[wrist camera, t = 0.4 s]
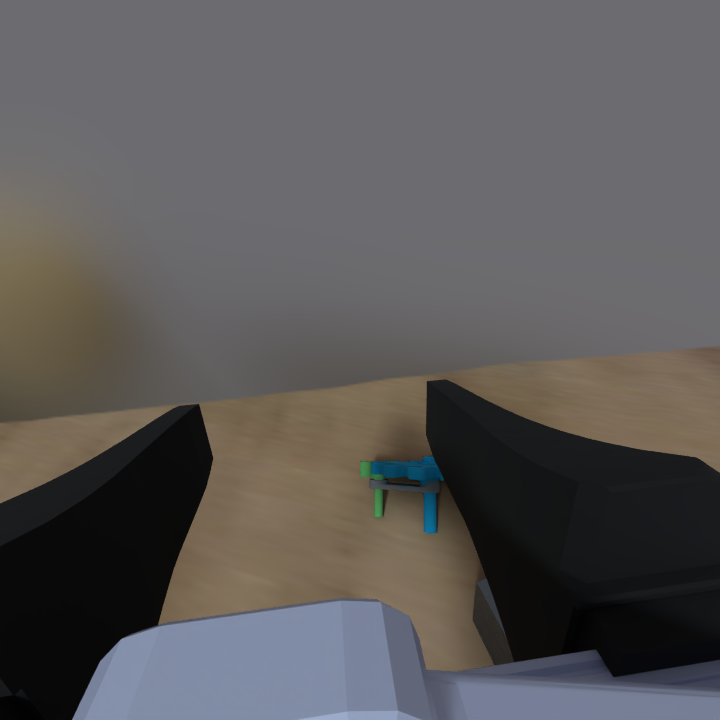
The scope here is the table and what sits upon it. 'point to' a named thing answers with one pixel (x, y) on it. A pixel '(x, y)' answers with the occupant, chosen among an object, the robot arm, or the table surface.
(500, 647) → the housing
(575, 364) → the table surface
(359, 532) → the table surface
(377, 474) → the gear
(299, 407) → the table surface
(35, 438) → the table surface
